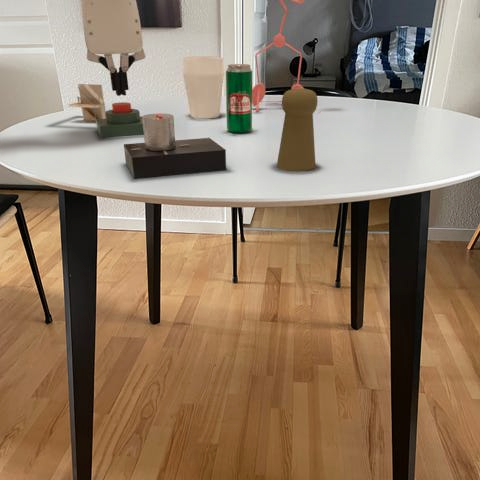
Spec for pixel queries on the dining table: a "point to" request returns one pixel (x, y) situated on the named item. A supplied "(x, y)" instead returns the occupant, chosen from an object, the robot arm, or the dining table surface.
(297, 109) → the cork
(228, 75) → the soda can
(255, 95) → the pink branching rod frame
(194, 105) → the cup
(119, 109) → the button
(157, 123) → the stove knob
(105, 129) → the block
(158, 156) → the panel
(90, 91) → the architectural model
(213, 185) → the dining table surface
